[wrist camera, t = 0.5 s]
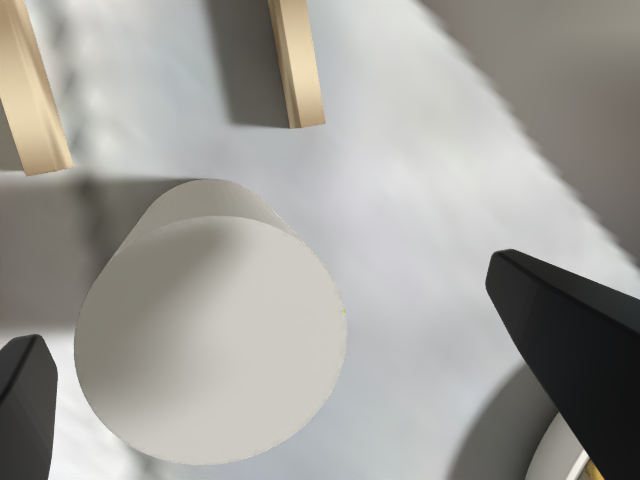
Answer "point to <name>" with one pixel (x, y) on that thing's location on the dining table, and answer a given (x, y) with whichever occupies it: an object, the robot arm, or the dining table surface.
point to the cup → (210, 329)
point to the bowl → (561, 456)
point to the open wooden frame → (40, 110)
